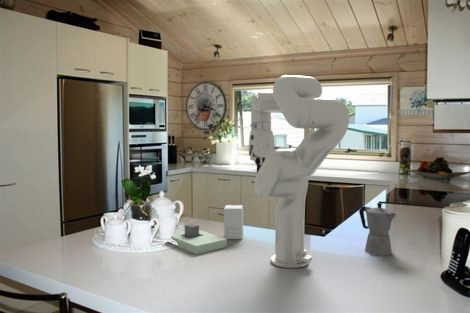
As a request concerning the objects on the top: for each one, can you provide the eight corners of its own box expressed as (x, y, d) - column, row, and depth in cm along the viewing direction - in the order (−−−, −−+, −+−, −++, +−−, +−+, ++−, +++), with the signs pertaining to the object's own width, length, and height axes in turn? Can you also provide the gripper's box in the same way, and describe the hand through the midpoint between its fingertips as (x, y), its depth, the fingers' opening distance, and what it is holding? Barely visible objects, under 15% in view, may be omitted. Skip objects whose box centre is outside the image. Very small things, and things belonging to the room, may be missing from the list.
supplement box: (243, 234, 172) (243, 205, 172) (242, 239, 165) (242, 208, 164) (226, 234, 173) (225, 204, 172) (223, 239, 166) (223, 208, 165)
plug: (199, 243, 160) (199, 225, 160) (191, 245, 158) (191, 227, 157) (191, 240, 163) (191, 223, 163) (184, 242, 161) (184, 225, 160)
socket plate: (226, 246, 155) (226, 239, 155) (196, 254, 146) (196, 246, 146) (196, 236, 170) (196, 228, 170) (166, 242, 161) (166, 234, 161)
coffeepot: (402, 254, 146) (404, 204, 145) (385, 259, 141) (387, 207, 140) (366, 244, 159) (368, 197, 158) (350, 248, 154) (351, 200, 152)
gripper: (254, 126, 149) (254, 177, 150) (281, 127, 159) (281, 174, 160) (239, 127, 154) (240, 176, 155) (267, 127, 164) (267, 173, 165)
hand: (261, 175), depth 157 cm, fingers closed
